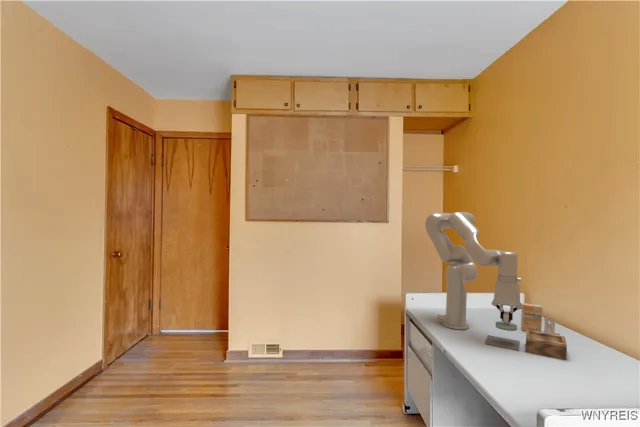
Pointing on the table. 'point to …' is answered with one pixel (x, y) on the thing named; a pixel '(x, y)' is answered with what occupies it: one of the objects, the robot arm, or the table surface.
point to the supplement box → (531, 317)
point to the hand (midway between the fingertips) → (506, 320)
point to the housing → (546, 344)
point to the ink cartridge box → (550, 327)
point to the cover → (506, 323)
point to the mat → (502, 342)
